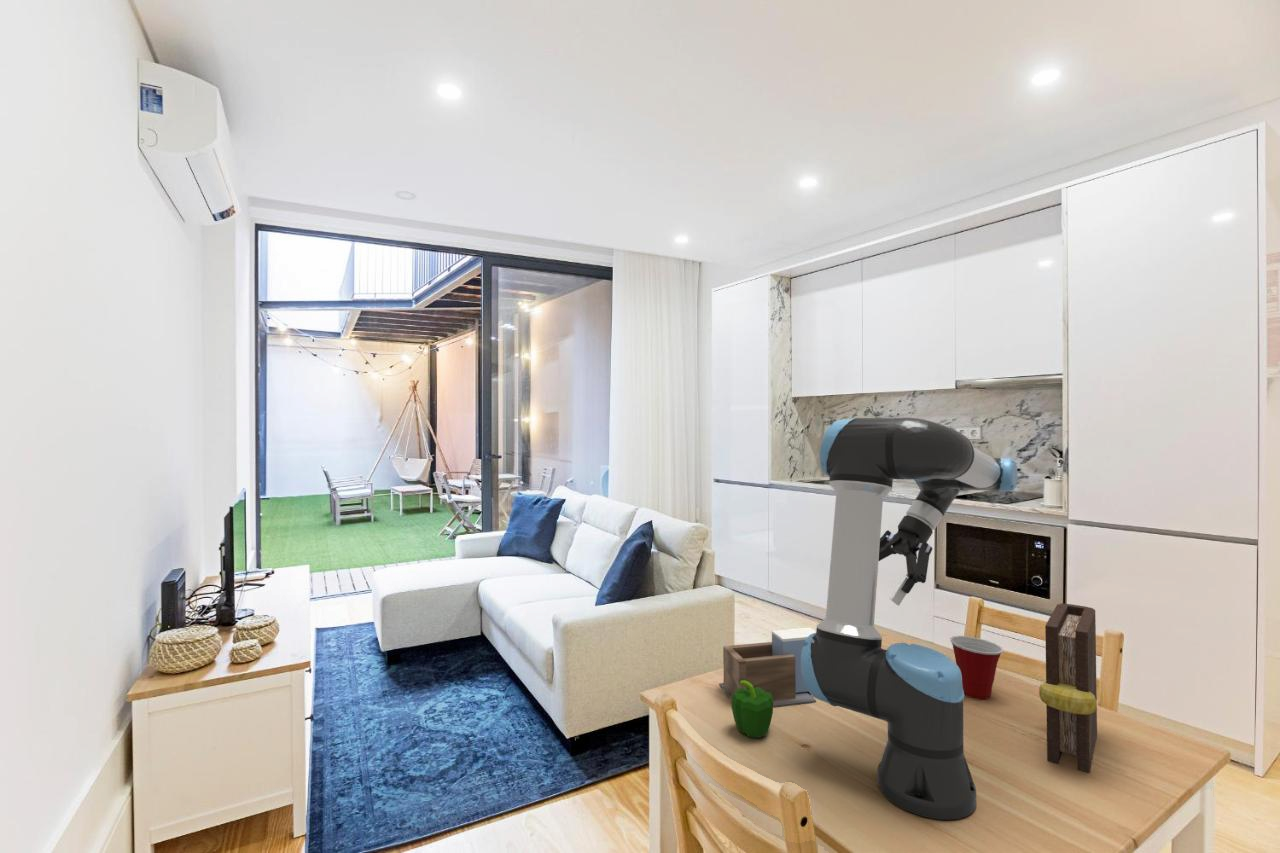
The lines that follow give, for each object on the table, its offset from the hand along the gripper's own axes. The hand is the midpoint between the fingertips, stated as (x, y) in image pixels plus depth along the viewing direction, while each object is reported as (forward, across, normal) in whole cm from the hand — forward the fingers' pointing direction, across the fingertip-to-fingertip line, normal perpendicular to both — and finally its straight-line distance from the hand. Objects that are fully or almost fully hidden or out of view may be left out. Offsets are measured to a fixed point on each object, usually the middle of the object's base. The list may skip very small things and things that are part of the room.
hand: (874, 593), depth 148 cm
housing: (+34, +1, +9) cm, 35 cm away
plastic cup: (+6, -16, -26) cm, 31 cm away
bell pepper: (+41, -14, +19) cm, 48 cm away
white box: (+29, 0, +4) cm, 29 cm away
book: (+7, -40, -22) cm, 46 cm away
